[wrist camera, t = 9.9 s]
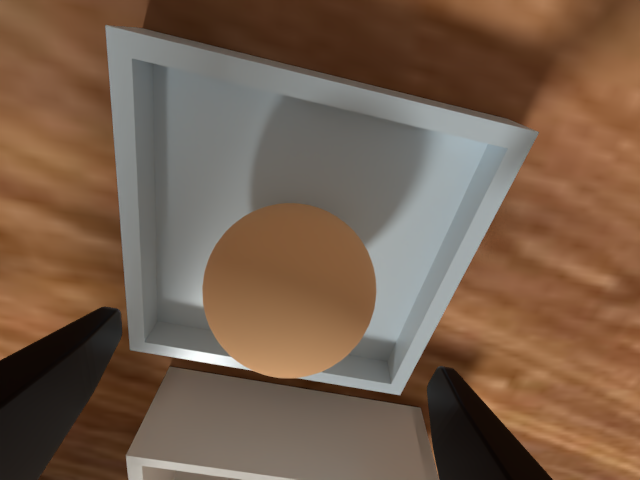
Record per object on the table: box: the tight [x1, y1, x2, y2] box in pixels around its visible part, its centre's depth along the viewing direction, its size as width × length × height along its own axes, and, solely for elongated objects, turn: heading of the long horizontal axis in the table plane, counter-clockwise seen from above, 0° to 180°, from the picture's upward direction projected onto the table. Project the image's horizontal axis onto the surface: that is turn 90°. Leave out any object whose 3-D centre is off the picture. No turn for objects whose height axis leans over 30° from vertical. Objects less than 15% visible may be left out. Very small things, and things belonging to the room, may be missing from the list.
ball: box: [202, 203, 376, 378], centre depth 12 cm, size 6×6×6 cm
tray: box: [105, 25, 539, 395], centre depth 15 cm, size 13×13×2 cm
